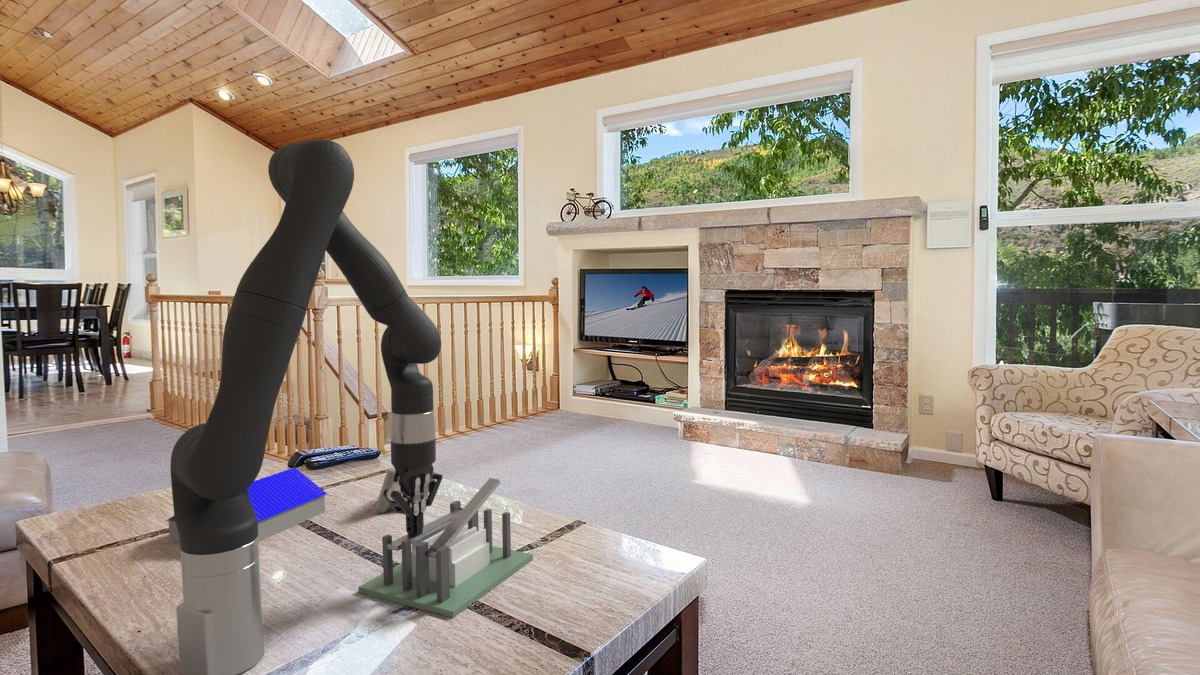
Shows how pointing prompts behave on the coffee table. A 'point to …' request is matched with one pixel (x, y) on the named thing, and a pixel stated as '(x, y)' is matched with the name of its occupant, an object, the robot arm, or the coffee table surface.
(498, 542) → the coffee table surface
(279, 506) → the blue ribbed slab
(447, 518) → the strap
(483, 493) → the strap
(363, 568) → the coffee table surface
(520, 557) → the heatsink board
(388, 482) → the digital clock
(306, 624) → the coffee table surface
